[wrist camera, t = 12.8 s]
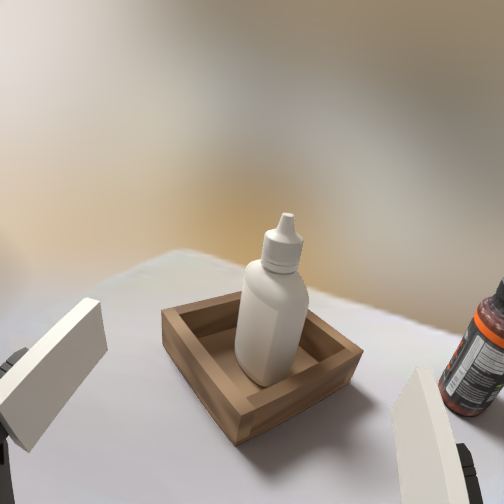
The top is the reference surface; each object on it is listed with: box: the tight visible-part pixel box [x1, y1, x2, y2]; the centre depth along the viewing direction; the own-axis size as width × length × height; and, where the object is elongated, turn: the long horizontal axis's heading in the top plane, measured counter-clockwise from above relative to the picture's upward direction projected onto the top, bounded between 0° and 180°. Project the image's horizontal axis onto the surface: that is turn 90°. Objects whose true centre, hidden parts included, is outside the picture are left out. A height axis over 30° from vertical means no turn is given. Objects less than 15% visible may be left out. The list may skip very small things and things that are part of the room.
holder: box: [161, 291, 364, 446], centre depth 23 cm, size 11×11×4 cm
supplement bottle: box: [438, 277, 504, 416], centre depth 19 cm, size 6×6×11 cm
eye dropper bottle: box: [235, 213, 309, 387], centre depth 21 cm, size 4×6×12 cm
